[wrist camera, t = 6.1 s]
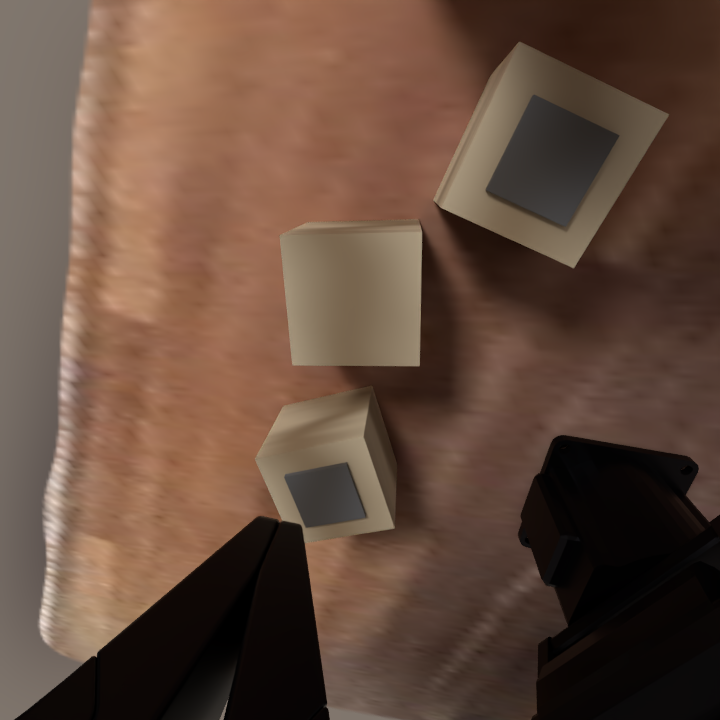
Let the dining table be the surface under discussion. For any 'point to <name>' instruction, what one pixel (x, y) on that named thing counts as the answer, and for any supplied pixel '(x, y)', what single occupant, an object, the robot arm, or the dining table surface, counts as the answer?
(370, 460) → the labelled block
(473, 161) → the labelled block
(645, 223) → the dining table surface
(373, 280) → the plain block
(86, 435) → the dining table surface
